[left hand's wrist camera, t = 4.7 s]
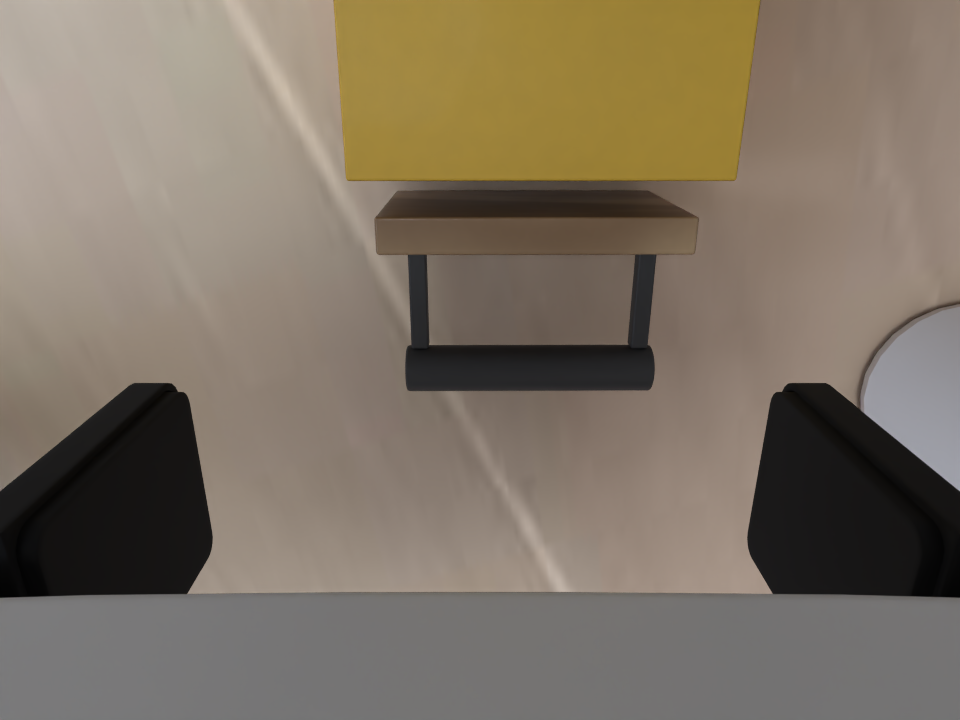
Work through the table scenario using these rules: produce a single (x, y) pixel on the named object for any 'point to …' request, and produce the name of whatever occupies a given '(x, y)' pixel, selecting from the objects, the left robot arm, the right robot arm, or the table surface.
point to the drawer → (532, 231)
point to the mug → (920, 390)
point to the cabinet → (544, 89)
